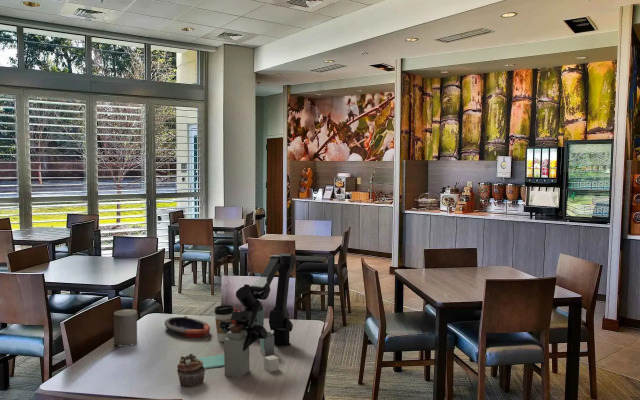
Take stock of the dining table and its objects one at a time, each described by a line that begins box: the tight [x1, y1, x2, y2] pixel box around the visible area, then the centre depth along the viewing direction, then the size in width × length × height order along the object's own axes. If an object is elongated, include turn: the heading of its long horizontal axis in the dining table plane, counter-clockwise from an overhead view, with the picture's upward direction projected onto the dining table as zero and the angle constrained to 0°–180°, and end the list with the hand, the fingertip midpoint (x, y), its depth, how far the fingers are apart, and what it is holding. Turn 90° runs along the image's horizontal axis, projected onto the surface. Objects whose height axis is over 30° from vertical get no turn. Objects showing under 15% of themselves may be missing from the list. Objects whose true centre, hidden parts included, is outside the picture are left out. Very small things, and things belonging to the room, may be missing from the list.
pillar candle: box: [113, 308, 138, 346], centre depth 226 cm, size 10×10×15 cm
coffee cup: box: [214, 304, 235, 343], centre depth 230 cm, size 8×8×15 cm
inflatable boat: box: [164, 315, 211, 339], centre depth 241 cm, size 16×31×5 cm, turn 45°
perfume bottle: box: [223, 324, 250, 378], centre depth 192 cm, size 7×7×18 cm
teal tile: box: [197, 354, 224, 370], centre depth 203 cm, size 11×11×1 cm
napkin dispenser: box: [259, 331, 276, 357], centre depth 212 cm, size 4×7×8 cm, turn 21°
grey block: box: [263, 354, 280, 373], centre depth 196 cm, size 4×4×4 cm
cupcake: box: [177, 353, 206, 389], centre depth 183 cm, size 10×10×10 cm
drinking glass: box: [242, 307, 266, 335], centre depth 237 cm, size 10×10×12 cm
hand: (234, 350), depth 191 cm, fingers closed on perfume bottle, 6 cm apart
